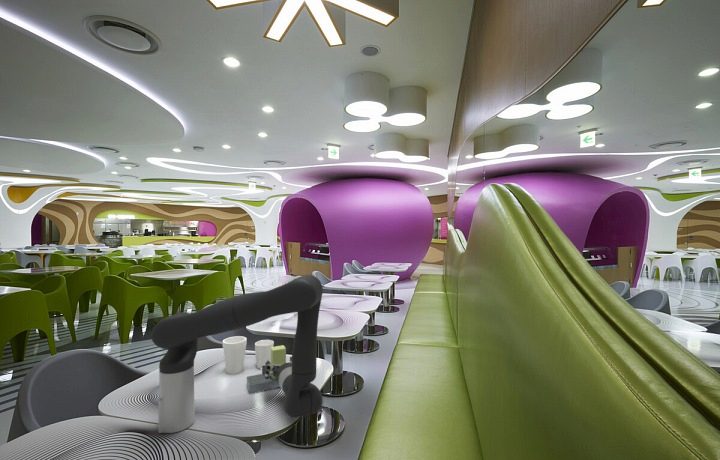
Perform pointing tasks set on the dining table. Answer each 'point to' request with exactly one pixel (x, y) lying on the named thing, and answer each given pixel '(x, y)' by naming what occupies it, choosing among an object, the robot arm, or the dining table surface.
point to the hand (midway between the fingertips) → (279, 361)
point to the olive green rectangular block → (278, 356)
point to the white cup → (263, 352)
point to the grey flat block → (260, 383)
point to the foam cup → (234, 353)
